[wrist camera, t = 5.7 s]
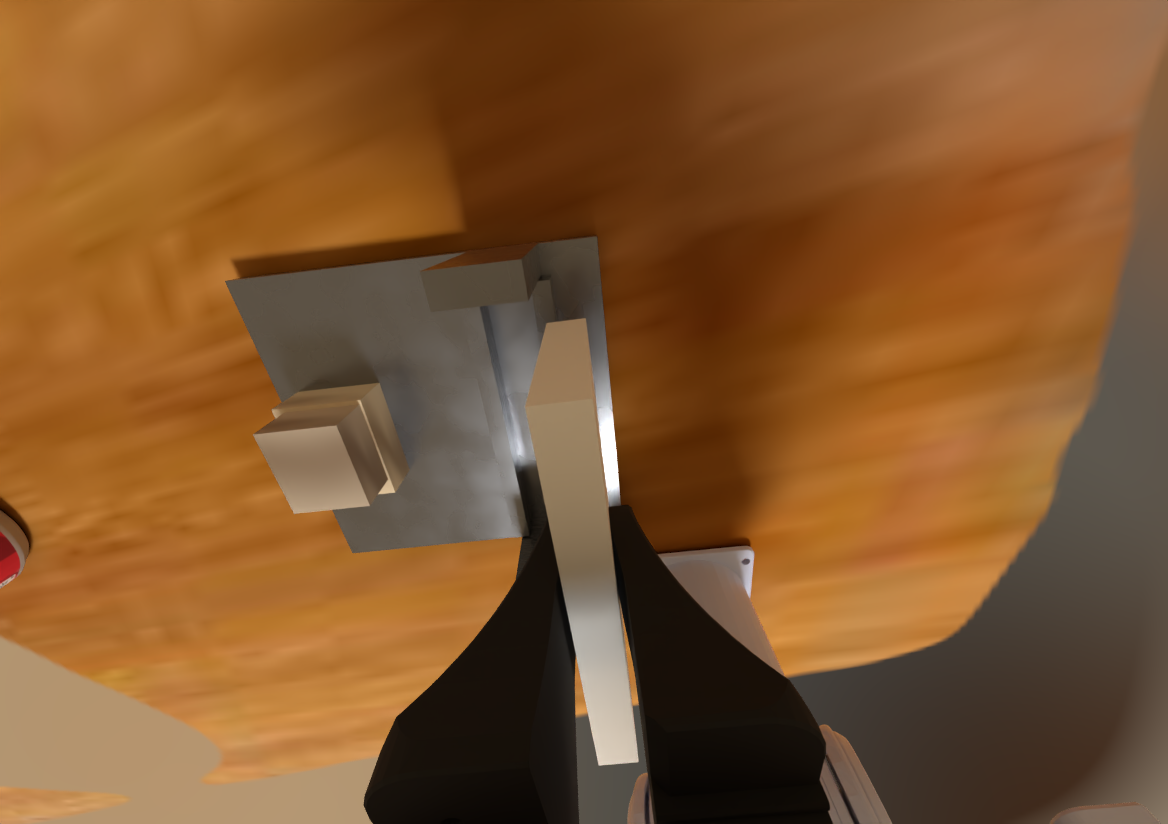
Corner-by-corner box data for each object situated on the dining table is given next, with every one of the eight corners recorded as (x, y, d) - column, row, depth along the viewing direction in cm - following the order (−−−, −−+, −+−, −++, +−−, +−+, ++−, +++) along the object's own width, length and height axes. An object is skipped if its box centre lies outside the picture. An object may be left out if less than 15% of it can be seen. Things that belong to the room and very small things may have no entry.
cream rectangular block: (619, 595, 18) (638, 762, 13) (592, 598, 18) (598, 765, 13) (585, 317, 13) (592, 398, 7) (546, 323, 13) (524, 406, 7)
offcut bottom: (409, 469, 22) (395, 492, 20) (336, 477, 22) (315, 500, 21) (379, 382, 20) (360, 399, 18) (298, 391, 20) (271, 409, 18)
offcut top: (388, 479, 20) (370, 505, 18) (319, 486, 20) (294, 513, 18) (359, 404, 18) (336, 425, 17) (284, 412, 18) (252, 434, 17)
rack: (620, 514, 25) (636, 617, 19) (360, 541, 26) (290, 649, 19) (596, 235, 18) (607, 248, 12) (241, 277, 19) (74, 312, 13)
